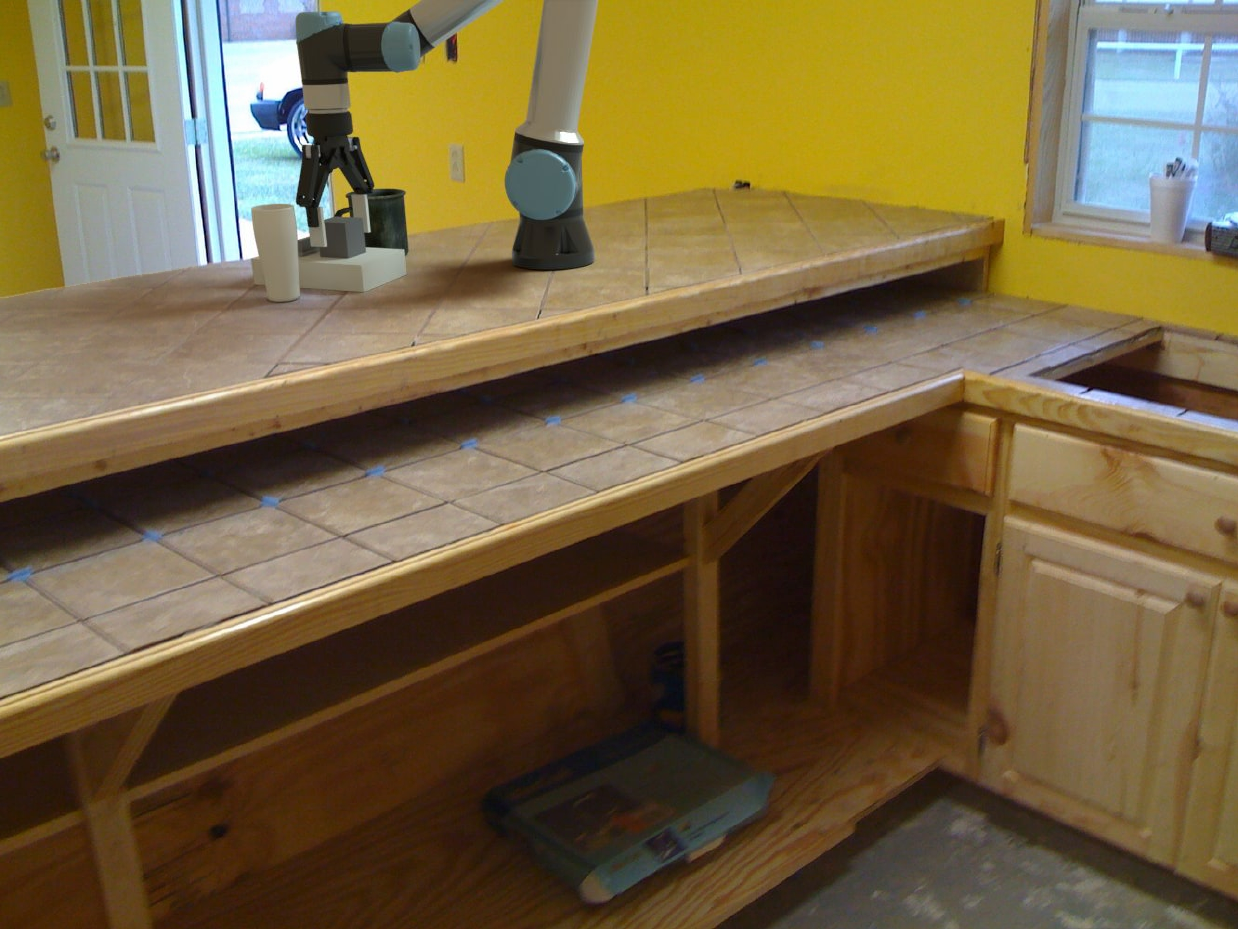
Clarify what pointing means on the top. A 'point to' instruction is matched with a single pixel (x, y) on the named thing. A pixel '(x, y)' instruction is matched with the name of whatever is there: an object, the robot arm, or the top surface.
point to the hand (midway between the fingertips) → (341, 239)
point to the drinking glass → (277, 250)
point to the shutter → (306, 247)
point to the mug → (384, 219)
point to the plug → (343, 238)
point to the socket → (345, 270)
